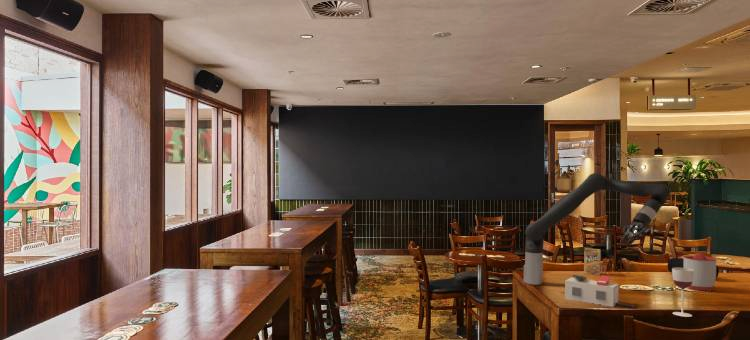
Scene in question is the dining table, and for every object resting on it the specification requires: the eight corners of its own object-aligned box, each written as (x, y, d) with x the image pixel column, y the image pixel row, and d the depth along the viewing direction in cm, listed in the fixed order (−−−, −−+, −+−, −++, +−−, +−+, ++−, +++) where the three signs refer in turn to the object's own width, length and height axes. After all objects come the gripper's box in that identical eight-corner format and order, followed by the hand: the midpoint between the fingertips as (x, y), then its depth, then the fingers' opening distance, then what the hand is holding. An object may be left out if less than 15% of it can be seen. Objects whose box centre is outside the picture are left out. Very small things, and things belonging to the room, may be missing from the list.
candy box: (583, 273, 319) (584, 248, 319) (585, 272, 323) (585, 247, 323) (599, 275, 315) (599, 250, 315) (600, 274, 318) (600, 249, 318)
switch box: (564, 299, 255) (564, 280, 254) (571, 295, 263) (571, 277, 263) (631, 310, 236) (632, 290, 236) (636, 305, 245) (636, 286, 245)
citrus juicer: (714, 287, 287) (715, 251, 287) (718, 293, 272) (718, 255, 272) (681, 283, 294) (682, 248, 294) (683, 289, 279) (683, 252, 279)
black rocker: (572, 278, 253) (573, 274, 253) (578, 280, 260) (578, 276, 260) (581, 280, 250) (581, 275, 251) (586, 281, 257) (586, 277, 258)
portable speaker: (666, 273, 324) (666, 257, 324) (674, 272, 329) (674, 256, 329) (711, 281, 303) (711, 264, 303) (719, 279, 308) (719, 263, 308)
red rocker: (596, 286, 247) (596, 282, 246) (601, 278, 254) (601, 274, 253) (605, 287, 244) (605, 283, 244) (610, 280, 251) (610, 275, 251)
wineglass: (667, 311, 234) (668, 267, 234) (685, 311, 235) (686, 267, 235) (678, 316, 226) (679, 270, 226) (697, 316, 227) (698, 270, 227)
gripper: (628, 210, 267) (610, 235, 262) (653, 213, 254) (634, 239, 249) (636, 220, 269) (618, 245, 264) (660, 223, 256) (642, 249, 251)
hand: (626, 242), depth 257 cm, fingers open, 3 cm apart
